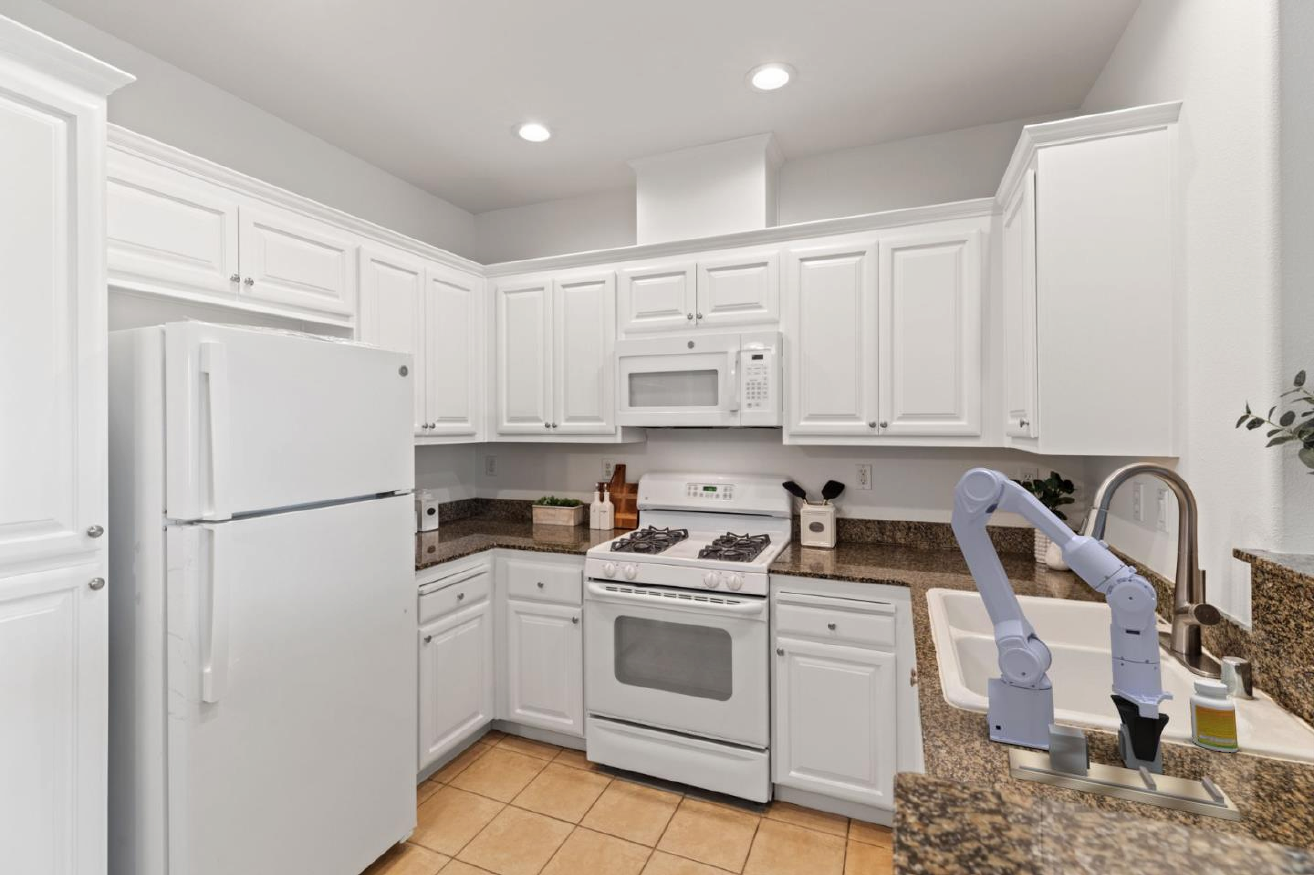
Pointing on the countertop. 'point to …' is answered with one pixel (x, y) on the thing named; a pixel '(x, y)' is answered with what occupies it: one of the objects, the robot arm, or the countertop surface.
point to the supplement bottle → (1213, 717)
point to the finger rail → (1116, 777)
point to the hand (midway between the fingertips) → (1141, 754)
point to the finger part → (1130, 758)
